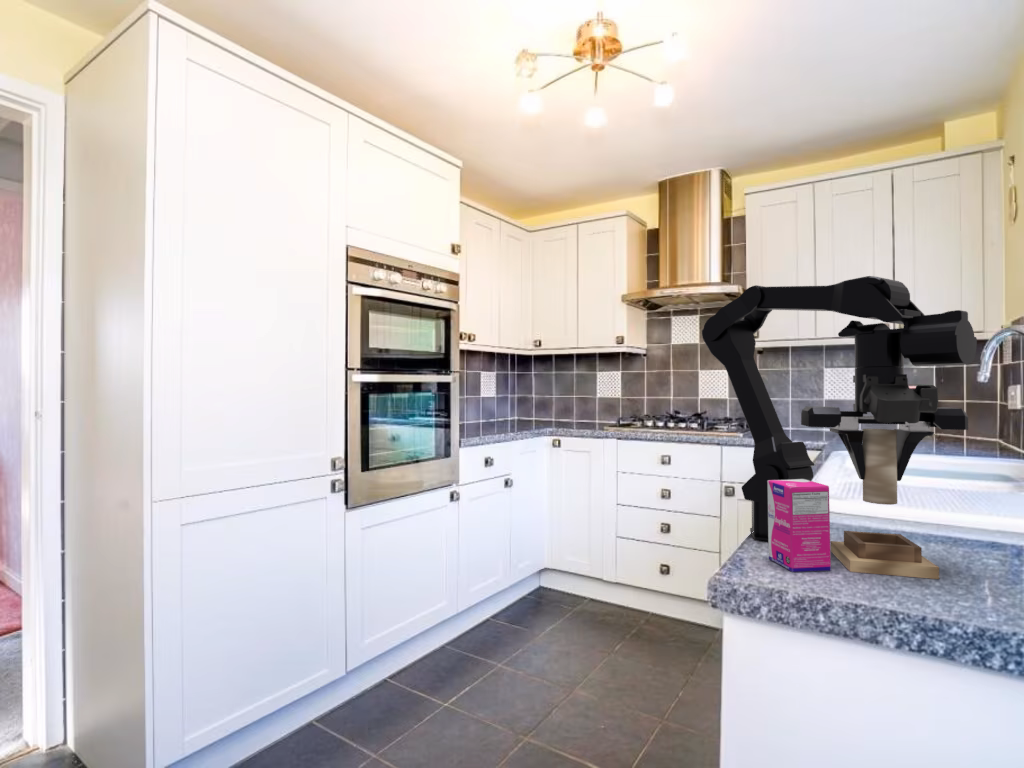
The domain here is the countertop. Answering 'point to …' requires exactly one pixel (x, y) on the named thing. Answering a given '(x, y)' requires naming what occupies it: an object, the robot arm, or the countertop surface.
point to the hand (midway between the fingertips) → (879, 479)
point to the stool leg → (880, 466)
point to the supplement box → (799, 525)
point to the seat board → (883, 555)
